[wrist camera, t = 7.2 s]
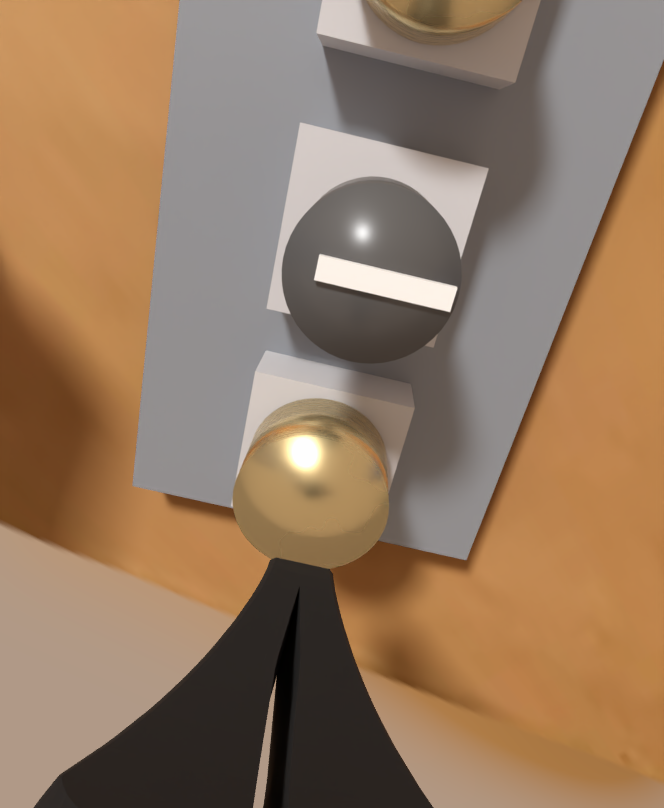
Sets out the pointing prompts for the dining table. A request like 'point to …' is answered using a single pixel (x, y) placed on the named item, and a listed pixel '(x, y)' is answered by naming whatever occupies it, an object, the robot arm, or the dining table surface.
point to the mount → (400, 160)
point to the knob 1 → (313, 484)
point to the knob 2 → (441, 18)
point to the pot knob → (371, 271)
